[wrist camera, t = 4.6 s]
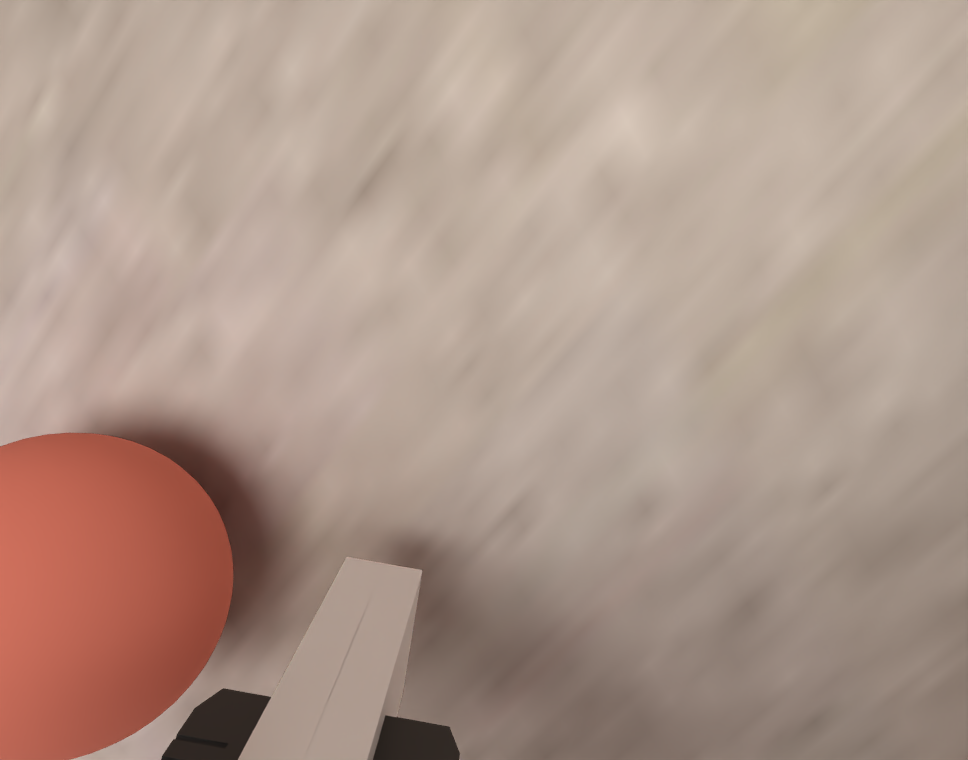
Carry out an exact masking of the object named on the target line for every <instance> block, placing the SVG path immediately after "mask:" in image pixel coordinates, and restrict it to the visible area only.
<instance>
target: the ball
mask: <svg viewBox="0 0 968 760" xmlns="http://www.w3.org/2000/svg"><path fill="white" fill-rule="evenodd" d="M232 591H233V561H232V551H231V546H230V543H229V539H228V535H227V532H226V529H225V526H224V524H223V521H222V519H221V517H220V514H219V512H218V510H217V508H216V507H215V505H214V503H213V502H212V500H211V499H210V497H209V495H208V494H207V493H206V492H205V491H204V489H203V488H202V487H201V486H200V485H199V483H198V482H197V481H196V480H195V479H194V478H193V477H192V476H190V475H189V474H188V473H187V472H186V471H185V470H184V469H183V468H182V467H180V466H179V465H178V464H176V463H175V462H173V461H172V460H170V459H169V458H168V457H166V456H164V455H162V454H160V453H158V452H156V451H155V450H153V449H151V448H148V447H146V446H143V445H141V444H138V443H135V442H133V441H129V440H125V439H122V438H118V437H114V436H107V435H100V434H91V433H60V434H48V435H42V436H36V437H31V438H26V439H22V440H19V441H16V442H13V443H10V444H7V445H3V446H1V447H0V760H69V759H73V758H77V757H80V756H84V755H87V754H90V753H93V752H95V751H98V750H100V749H103V748H105V747H108V746H110V745H112V744H114V743H117V742H119V741H121V740H122V739H124V738H126V737H128V736H130V735H132V734H134V733H136V732H137V731H139V730H140V729H142V728H143V727H144V726H146V725H147V724H149V723H150V722H152V721H153V720H154V719H156V718H157V717H158V716H159V715H161V714H162V713H163V712H164V711H165V710H166V709H168V708H169V707H170V706H171V705H172V704H174V703H175V702H176V701H177V700H178V698H179V697H180V696H181V695H182V694H183V693H184V692H185V691H186V690H187V689H188V688H189V686H190V685H191V684H192V683H193V681H194V680H195V679H196V678H197V676H198V675H199V673H200V672H201V671H202V669H203V668H204V666H205V665H206V664H207V662H208V660H209V658H210V656H211V654H212V652H213V651H214V649H215V647H216V645H217V643H218V641H219V639H220V637H221V634H222V631H223V628H224V626H225V623H226V620H227V616H228V612H229V607H230V602H231V597H232Z"/></svg>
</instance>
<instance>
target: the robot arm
mask: <svg viewBox="0 0 968 760" xmlns="http://www.w3.org/2000/svg"><path fill="white" fill-rule="evenodd" d="M422 571H423V570H420V569H414V568H408V567H403V566H397V565H391V564H386V563H380V562H374V561H369V560H363V559H357V558H352V557H346V559H345V561H344V562H343V564H342V566H341V568H340V570H339V572H338V574H337V576H336V577H335V579H334V581H333V583H332V585H331V587H330V589H329V590H328V592H327V594H326V596H325V598H324V600H323V602H322V604H321V605H320V607H319V609H318V611H317V613H316V615H315V617H314V618H313V620H312V622H311V624H310V626H309V628H308V630H307V632H306V633H305V635H304V637H303V639H302V641H301V643H300V645H299V646H298V648H297V650H296V652H295V654H294V656H293V658H292V659H291V661H290V663H289V665H288V667H287V669H286V671H285V673H284V674H283V676H282V678H281V680H280V682H279V684H278V686H277V687H276V689H275V691H274V693H273V695H272V697H268V696H262V695H257V694H251V693H245V692H240V691H234V690H229V689H222V690H220V691H219V692H217V693H216V694H215V695H213V696H212V697H210V698H209V699H207V700H206V701H204V702H203V703H202V704H200V705H199V706H197V707H196V708H195V709H194V710H193V712H192V713H191V715H190V716H189V718H188V719H187V720H186V722H185V723H184V725H183V726H182V728H181V729H180V731H179V732H178V734H177V737H176V739H173V741H172V742H171V744H170V745H169V747H168V748H167V750H166V751H165V753H164V754H163V756H162V759H161V760H459V755H460V753H459V750H458V748H457V745H456V743H455V740H454V738H453V735H452V733H451V730H450V727H448V726H442V725H437V724H431V723H426V722H420V721H414V720H409V719H403V718H398V717H397V715H398V711H399V707H400V703H401V699H402V696H403V691H404V685H405V678H406V672H407V666H408V659H409V653H410V647H411V640H412V634H413V628H414V621H415V615H416V609H417V602H418V596H419V590H420V583H421V577H422Z"/></svg>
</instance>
